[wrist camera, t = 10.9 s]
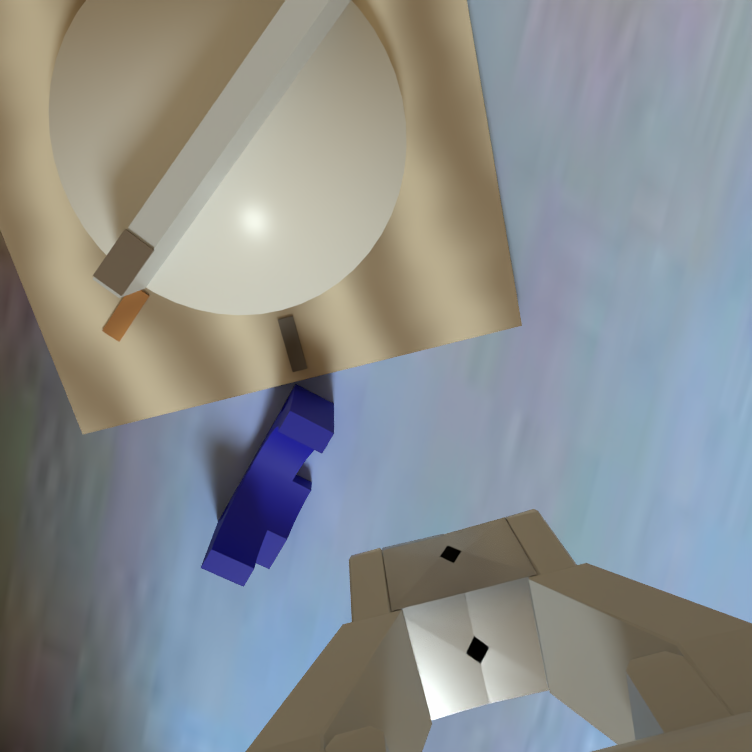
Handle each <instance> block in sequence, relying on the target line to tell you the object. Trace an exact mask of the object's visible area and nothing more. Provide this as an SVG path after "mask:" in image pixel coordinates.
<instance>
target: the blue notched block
mask: <svg viewBox="0 0 752 752" xmlns="http://www.w3.org/2000/svg"><path fill="white" fill-rule="evenodd" d="M333 434H334V404H333V403H331V402H329V401H327V400H325V399H324V398H322V397H320V396H318V395H316V394H314V393H312V392H310V391H308V390H306V389H304V388H303V387H301V386H299V385H297V384H295V386H294V388H293V390H292V392H291V393H290V395H289V397H288V399H287V400H286V402H285V404H284V406H283V408H282V409H281V411H280V413H279V415H278V416H277V418H276V420H275V422H274V423H273V425H272V427H271V429H270V431H269V432H268V434H267V436H266V438H265V439H264V441H263V443H262V445H261V447H260V448H259V450H258V452H257V454H256V455H255V457H254V459H253V461H252V463H251V464H250V466H249V468H248V470H247V471H246V473H245V475H244V477H243V479H242V480H241V482H240V484H239V486H238V487H237V489H236V491H235V493H234V494H233V496H232V498H231V500H230V502H229V503H228V505H227V507H226V509H225V510H224V512H223V514H222V516H221V518H220V519H219V521H218V523H217V526H216V529H215V531H214V534H213V537H212V539H211V542H210V545H209V547H208V550H207V553H206V555H205V558H204V561H203V563H202V566H201V568H202V569H204V570H207V571H209V572H211V573H214V574H216V575H218V576H220V577H223V578H225V579H227V580H229V581H232V582H234V583H236V584H239V585H241V586H243V587H244V585H245V583H246V582H247V580H248V578H249V577H250V575H251V573H252V571H253V570H254V567H255V563H257V564H259V565H261V566H263V567H266V568H268V569H270V567H271V565H272V564H273V562H274V560H275V559H276V557H277V555H278V554H279V552H280V550H281V549H282V547H283V545H284V544H285V542H286V540H287V538H288V536H289V533H290V531H291V529H292V526H293V524H294V522H295V520H296V518H297V516H298V514H299V512H300V510H301V508H302V506H303V504H304V502H305V500H306V498H307V497H308V495H309V493H310V491H311V485H312V482H310V481H308V480H306V479H304V478H302V477H300V476H298V475H296V474H297V472H298V471H299V469H300V468H301V466H302V465H303V463H304V462H305V460H306V459H307V458H308V457H309V455H310V454H311V453H312V452H313V451H314V450H316V451H318V452H320V453H323V451H324V449H325V448H326V446H327V444H328V443H329V441H330V439H331V437H332V436H333Z"/></svg>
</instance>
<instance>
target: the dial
mask: <svg viewBox="0 0 752 752" xmlns="http://www.w3.org/2000/svg"><path fill="white" fill-rule="evenodd" d="M48 111H49V130H50V139H51V145H52V151H53V156H54V161H55V164H56V168H57V171H58V174H59V177H60V181H61V184H62V186H63V189H64V191H65V193H66V195H67V198H68V200H69V202H70V204H71V207H72V208H73V210H74V212H75V213H76V215H77V217H78V219H79V220H80V222H81V224H82V225H83V227H84V229H85V230H86V231H87V232H88V234H89V235H90V236H91V238H92V239H93V240H94V242H95V243H96V244H97V246H98V247H99V248H100V249H101V250H102V251H103V252H104V253H105V254H106V255H107V256H106V257H105V258H104V260H103V261H102V263H101V264H100V266H99V267H98V269H97V270H96V271H95V273H94V274H93V276H94V278H93V280H94V281H96V282H97V283H99V284H100V285H101V286H103V287H104V288H106V289H107V290H108V291H110V292H111V293H113V294H114V295H116V296H117V297H118V298H121V297H124V296H126V295H129V294H132V293H134V292H137V291H140V290H142V289H145V288H148V289H149V290H151V291H152V292H154V293H156V294H158V295H160V296H162V297H165V298H167V299H169V300H171V301H173V302H175V303H178V304H181V305H184V306H187V307H190V308H193V309H196V310H201V311H206V312H211V313H216V314H227V315H255V314H264V313H270V312H275V311H280V310H284V309H287V308H290V307H293V306H296V305H299V304H302V303H304V302H306V301H308V300H310V299H313V298H315V297H317V296H319V295H321V294H322V293H324V292H325V291H327V290H328V289H330V288H332V287H333V286H335V285H336V284H338V283H339V282H340V281H341V280H342V279H344V278H345V277H346V276H347V275H348V274H349V273H351V272H352V271H353V270H354V269H355V268H356V267H357V266H358V265H359V264H360V262H361V261H362V260H363V259H364V258H365V257H366V256H367V255H368V253H369V252H370V251H371V249H372V248H373V246H374V245H375V243H376V242H377V240H378V239H379V238H380V236H381V235H382V233H383V231H384V229H385V227H386V225H387V223H388V221H389V219H390V217H391V215H392V212H393V209H394V207H395V204H396V201H397V198H398V195H399V192H400V188H401V183H402V179H403V174H404V168H405V158H406V147H407V146H406V120H405V113H404V107H403V100H402V96H401V92H400V88H399V85H398V81H397V77H396V74H395V71H394V69H393V67H392V64H391V62H390V59H389V57H388V54H387V52H386V50H385V48H384V46H383V44H382V43H381V41H380V39H379V37H378V35H377V34H376V32H375V30H374V28H373V27H372V26H371V24H370V23H369V21H368V20H367V19H366V17H365V16H364V15H363V13H362V12H361V11H360V9H359V8H358V7H357V6H356V5H355V3H354V2H353V1H352V0H86V1H85V2H84V4H83V5H82V6H81V8H80V9H79V10H78V12H77V13H76V15H75V17H74V19H73V21H72V22H71V24H70V26H69V28H68V30H67V32H66V34H65V36H64V38H63V41H62V44H61V46H60V49H59V52H58V55H57V57H56V61H55V65H54V70H53V75H52V79H51V84H50V96H49V109H48Z"/></svg>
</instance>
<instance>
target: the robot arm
mask: <svg viewBox="0 0 752 752" xmlns="http://www.w3.org/2000/svg"><path fill="white" fill-rule="evenodd" d="M349 571H350V592H351V613H352V622H351V623H347V624H343V625H342V626H341V628H340V629H339V630H338V632H337V633H336V634H335V635H334V637H333V638H332V639H331V641H330V642H329V643H328V645H327V646H326V647H325V649H324V650H323V651H322V652H321V654H320V655H319V656H318V658H317V659H316V660H315V662H314V663H313V664H312V666H311V667H310V668H309V669H308V671H307V672H306V673H305V675H304V676H303V677H302V679H301V680H300V681H299V683H298V684H297V685H296V686H295V688H294V689H293V690H292V692H291V693H290V694H289V696H288V697H287V698H286V700H285V701H284V702H283V703H282V705H281V706H280V707H279V709H278V710H277V711H276V713H275V714H274V715H273V717H272V718H271V719H270V720H269V722H268V723H267V724H266V726H265V727H264V728H263V730H262V731H261V732H260V734H259V735H258V736H257V737H256V739H255V740H254V741H253V743H252V744H251V745H250V747H249V748H248V749H247V751H246V752H422V750H423V747H424V744H425V742H426V739H427V736H428V733H429V731H430V728H431V725H432V722H431V720H433V719H437V718H440V717H444V716H447V715H451V714H454V713H458V712H461V711H465V710H468V709H472V708H475V707H479V706H482V705H486V704H489V702H490V703H494V702H498V701H503V700H507V699H512V698H516V697H521V696H525V695H530V694H534V693H539V692H543V691H548V690H550V693H551V694H552V695H553V696H555V697H556V698H557V699H559V700H560V701H561V702H563V703H564V704H565V705H567V706H568V707H569V708H570V709H572V710H573V711H574V712H576V713H577V714H578V715H580V716H581V717H582V718H584V719H585V720H586V721H588V722H589V723H590V724H591V725H593V726H594V727H595V728H597V729H598V730H599V731H601V732H602V733H603V734H605V735H606V736H607V737H609V738H610V739H611V740H613V741H614V742H615V743H616V744H618V745H615V746H612V747H608V748H604V749H600V750H596V751H592V752H752V623H749V622H746V621H743V620H741V619H738V618H735V617H733V616H730V615H727V614H724V613H722V612H719V611H716V610H713V609H711V608H708V607H705V606H702V605H700V604H697V603H694V602H692V601H689V600H686V599H683V598H681V597H678V596H675V595H672V594H670V593H667V592H664V591H661V590H659V589H656V588H653V587H651V586H648V585H645V584H642V583H640V582H637V581H634V580H631V579H629V578H626V577H623V576H620V575H618V574H615V573H612V572H610V571H607V570H604V569H601V568H599V567H596V566H593V565H590V564H588V563H585V564H581V565H577V564H576V563H575V562H574V560H573V559H572V557H571V556H570V555H569V553H568V552H567V550H566V549H565V548H564V546H563V545H562V544H561V542H560V541H559V539H558V538H557V537H556V535H555V534H554V532H553V531H552V530H551V528H550V527H549V525H548V524H547V523H546V521H545V520H544V518H543V517H542V516H541V514H540V513H539V511H537V510H535V509H532V510H528V511H525V512H522V513H518V514H515V515H512V516H508V517H505V518H501V519H497V520H494V521H490V522H487V523H483V524H480V525H476V526H472V527H469V528H465V529H462V530H458V531H454V532H451V533H447V534H440V535H436V536H431V537H427V538H423V539H418V540H414V541H410V542H405V543H401V544H397V545H392V546H388V547H384V548H382V550H381V549H380V548H378V549H374V550H370V551H367V552H363V553H359V554H355V555H352V556H351V557H350V559H349Z"/></svg>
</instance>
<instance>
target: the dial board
mask: <svg viewBox="0 0 752 752" xmlns="http://www.w3.org/2000/svg"><path fill="white" fill-rule="evenodd" d="M85 1H86V0H0V230H1V232H2V235H3V237H4V240H5V242H6V245H7V247H8V250H9V252H10V255H11V257H12V260H13V262H14V265H15V267H16V270H17V272H18V275H19V277H20V280H21V282H22V285H23V287H24V289H25V292H26V294H27V297H28V299H29V302H30V304H31V307H32V309H33V312H34V314H35V317H36V319H37V322H38V324H39V327H40V329H41V332H42V334H43V337H44V339H45V342H46V344H47V347H48V349H49V352H50V354H51V356H52V359H53V361H54V364H55V366H56V369H57V371H58V374H59V376H60V379H61V381H62V384H63V386H64V389H65V391H66V394H67V396H68V399H69V401H70V404H71V406H72V409H73V411H74V414H75V416H76V418H77V421H78V423H79V426H80V428H81V431H82V433H83V434H86V433H90V432H94V431H98V430H102V429H106V428H110V427H114V426H119V425H123V424H127V423H131V422H135V421H139V420H143V419H147V418H151V417H155V416H159V415H163V414H167V413H171V412H175V411H179V410H183V409H187V408H191V407H195V406H199V405H203V404H207V403H211V402H215V401H219V400H223V399H227V398H231V397H236V396H240V395H244V394H248V393H252V392H256V391H260V390H264V389H268V388H272V387H276V386H280V385H284V384H288V383H292V382H296V381H300V380H304V379H308V378H312V377H316V376H320V375H324V374H328V373H332V372H336V371H340V370H344V369H348V368H353V367H357V366H361V365H365V364H369V363H373V362H377V361H381V360H385V359H389V358H393V357H397V356H401V355H405V354H409V353H413V352H417V351H421V350H425V349H429V348H433V347H437V346H441V345H445V344H449V343H453V342H457V341H461V340H466V339H470V338H474V337H478V336H482V335H486V334H490V333H494V332H498V331H502V330H506V329H510V328H514V327H518V326H522V324H521V318H520V312H519V306H518V300H517V294H516V289H515V283H514V277H513V271H512V265H511V259H510V253H509V247H508V241H507V235H506V229H505V224H504V218H503V212H502V206H501V200H500V194H499V188H498V182H497V176H496V170H495V165H494V159H493V153H492V147H491V141H490V135H489V129H488V123H487V117H486V111H485V105H484V100H483V94H482V88H481V82H480V76H479V70H478V64H477V58H476V52H475V46H474V40H473V35H472V29H471V23H470V17H469V11H468V5H467V0H352V1H353V2H354V3H355V5H356V6H357V7H358V8H359V9H360V11H361V12H362V13H363V15H364V16H365V17H366V19H367V20H368V21H369V23H370V24H371V26H372V27H373V28H374V30H375V32H376V34H377V35H378V37H379V39H380V41H381V43H382V44H383V46H384V48H385V50H386V52H387V54H388V57H389V59H390V62H391V64H392V67H393V69H394V71H395V74H396V77H397V81H398V85H399V88H400V92H401V96H402V100H403V107H404V113H405V120H406V146H407V147H406V158H405V168H404V174H403V179H402V183H401V188H400V192H399V195H398V198H397V201H396V204H395V207H394V209H393V212H392V215H391V217H390V219H389V221H388V223H387V225H386V227H385V229H384V231H383V233H382V235H381V236H380V238H379V239H378V240H377V242H376V243H375V245H374V246H373V248H372V249H371V251H370V252H369V253H368V255H367V256H366V257H365V258H364V259H363V260H362V261H361V262H360V264H359V265H358V266H357V267H356V268H355V269H354V270H353V271H352V272H351V273H349V274H348V275H347V276H346V277H345V278H344V279H342V280H341V281H340V282H339V283H338V284H336V285H335V286H333V287H332V288H330V289H328V290H327V291H325V292H324V293H322V294H321V295H319V296H317V297H315V298H313V299H310V300H308V301H306V302H304V303H302V304H299V305H296V306H293V307H290V308H287V309H284V310H280V311H275V312H270V313H264V314H255V315H227V314H216V313H211V312H206V311H201V310H196V309H193V308H190V307H187V306H184V305H181V304H178V303H175V302H173V301H171V300H169V299H167V298H165V297H162V296H160V295H158V294H156V293H154V292H152V291H151V290H149V289H148V288H145V289H142V290H140V291H137V292H134V293H132V294H129V295H126V296H124V297H121V298H118V297H117V296H116V295H114V294H113V293H111V292H110V291H108V290H107V289H106V288H104V287H103V286H101V285H100V284H99V283H97V282H96V281H94V280H93V278H94V276H93V274H94V273H95V271H96V270H97V269H98V267H99V266H100V264H101V263H102V261H103V260H104V258H105V257H106V256H107V255H106V254H105V253H104V252H103V251H102V250H101V249H100V248H99V247H98V246H97V244H96V243H95V242H94V240H93V239H92V238H91V236H90V235H89V234H88V232H87V231H86V230H85V229H84V227H83V225H82V224H81V222H80V220H79V219H78V217H77V215H76V213H75V212H74V210H73V208H72V207H71V204H70V202H69V200H68V198H67V195H66V193H65V191H64V189H63V186H62V184H61V181H60V177H59V174H58V171H57V168H56V164H55V161H54V156H53V151H52V145H51V139H50V130H49V111H48V109H49V96H50V84H51V79H52V75H53V70H54V65H55V61H56V57H57V55H58V52H59V49H60V46H61V44H62V41H63V38H64V36H65V34H66V32H67V30H68V28H69V26H70V24H71V22H72V21H73V19H74V17H75V15H76V13H77V12H78V10H79V9H80V8H81V6H82V5H83V4H84V2H85Z"/></svg>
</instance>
